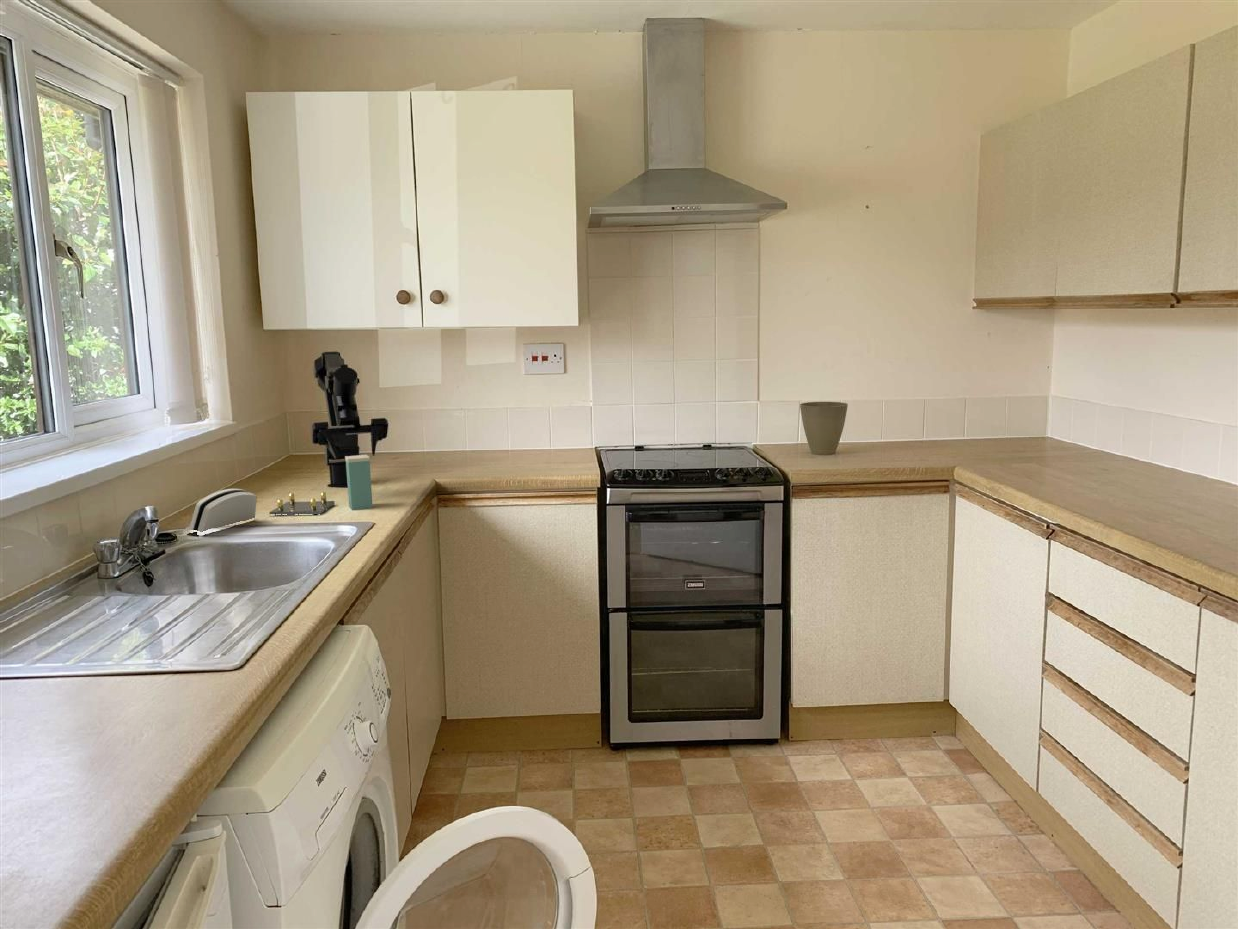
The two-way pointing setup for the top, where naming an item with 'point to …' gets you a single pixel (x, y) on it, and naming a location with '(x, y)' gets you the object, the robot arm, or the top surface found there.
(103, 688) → the top surface
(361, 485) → the tea tin
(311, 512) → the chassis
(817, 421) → the plant pot
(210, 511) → the grey napkin holder
